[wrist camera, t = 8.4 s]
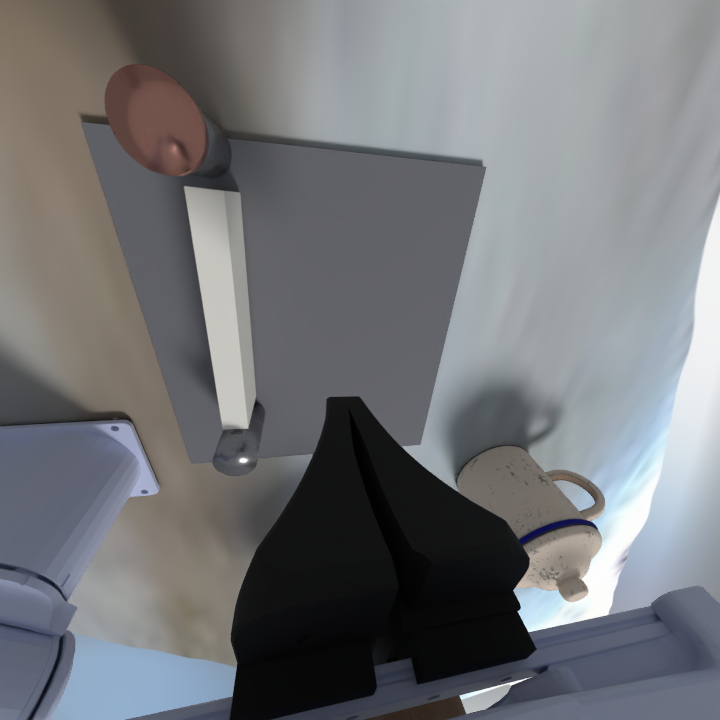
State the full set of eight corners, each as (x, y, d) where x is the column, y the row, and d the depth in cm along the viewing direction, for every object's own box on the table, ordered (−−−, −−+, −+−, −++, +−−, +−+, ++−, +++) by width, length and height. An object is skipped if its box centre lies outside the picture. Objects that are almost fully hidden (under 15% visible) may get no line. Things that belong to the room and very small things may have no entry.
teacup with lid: (460, 507, 34) (524, 634, 24) (446, 462, 29) (519, 597, 20) (554, 470, 34) (659, 584, 24) (555, 419, 29) (686, 535, 19)
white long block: (256, 395, 21) (248, 428, 18) (234, 395, 21) (222, 429, 18) (240, 192, 15) (224, 191, 12) (208, 188, 14) (183, 186, 11)
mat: (192, 460, 24) (191, 463, 23) (86, 123, 13) (81, 121, 13) (419, 442, 27) (420, 444, 27) (483, 167, 16) (486, 166, 16)
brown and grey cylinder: (182, 180, 14) (122, 171, 10) (168, 108, 13) (89, 56, 8) (240, 185, 15) (211, 179, 10) (232, 116, 14) (194, 72, 9)
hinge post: (233, 424, 22) (216, 477, 18) (228, 397, 21) (208, 448, 17) (267, 422, 23) (258, 473, 19) (264, 396, 22) (254, 445, 17)
